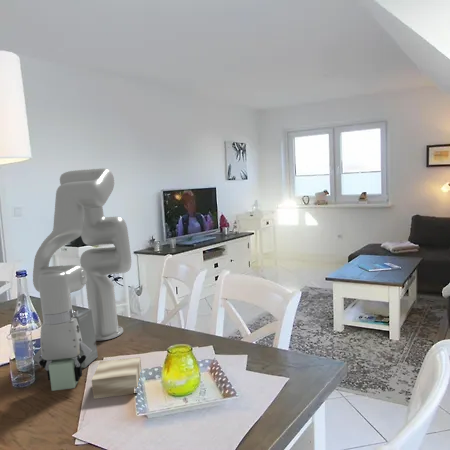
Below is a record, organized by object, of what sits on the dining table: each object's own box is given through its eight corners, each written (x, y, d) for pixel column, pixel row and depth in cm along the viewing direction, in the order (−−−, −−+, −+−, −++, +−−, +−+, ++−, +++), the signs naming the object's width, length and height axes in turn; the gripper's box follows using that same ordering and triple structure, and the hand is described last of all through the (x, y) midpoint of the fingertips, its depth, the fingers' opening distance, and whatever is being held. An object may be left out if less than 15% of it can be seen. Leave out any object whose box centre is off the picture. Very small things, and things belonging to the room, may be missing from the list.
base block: (102, 378, 117) (100, 361, 117) (141, 374, 118) (140, 356, 118) (93, 398, 107) (91, 379, 106) (137, 393, 108) (135, 374, 107)
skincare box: (85, 368, 125) (79, 316, 124) (63, 368, 127) (57, 317, 125) (99, 356, 133) (93, 307, 132) (79, 356, 135) (73, 308, 133)
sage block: (58, 380, 119) (55, 356, 118) (80, 377, 119) (77, 354, 119) (51, 390, 113) (48, 365, 112) (74, 388, 113) (71, 363, 113)
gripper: (93, 309, 119) (100, 371, 120) (30, 316, 117) (38, 378, 119) (87, 317, 111) (95, 383, 113) (19, 325, 110) (28, 391, 111)
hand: (65, 380), depth 116 cm, fingers closed on sage block, 6 cm apart
